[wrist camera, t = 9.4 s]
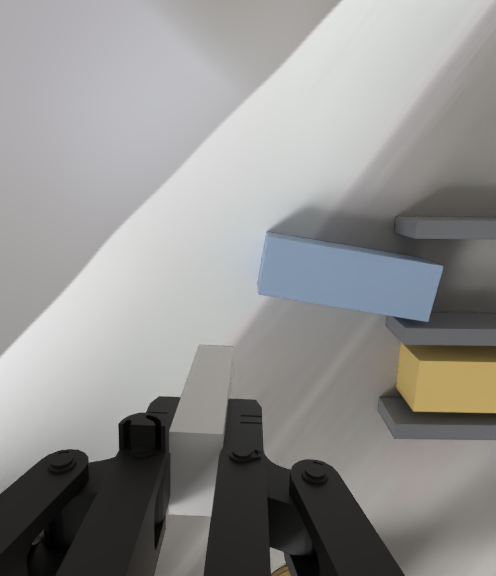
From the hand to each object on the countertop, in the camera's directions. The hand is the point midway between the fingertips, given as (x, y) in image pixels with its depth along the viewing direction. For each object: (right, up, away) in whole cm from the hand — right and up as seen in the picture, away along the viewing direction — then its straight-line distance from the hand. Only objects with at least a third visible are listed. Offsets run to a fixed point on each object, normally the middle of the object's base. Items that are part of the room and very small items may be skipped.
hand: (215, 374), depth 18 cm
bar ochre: (+20, -3, +16) cm, 25 cm away
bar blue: (+8, +5, +14) cm, 17 cm away
